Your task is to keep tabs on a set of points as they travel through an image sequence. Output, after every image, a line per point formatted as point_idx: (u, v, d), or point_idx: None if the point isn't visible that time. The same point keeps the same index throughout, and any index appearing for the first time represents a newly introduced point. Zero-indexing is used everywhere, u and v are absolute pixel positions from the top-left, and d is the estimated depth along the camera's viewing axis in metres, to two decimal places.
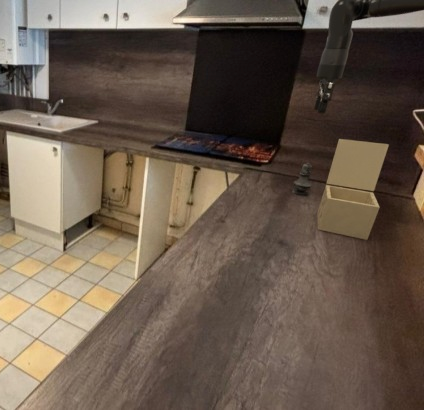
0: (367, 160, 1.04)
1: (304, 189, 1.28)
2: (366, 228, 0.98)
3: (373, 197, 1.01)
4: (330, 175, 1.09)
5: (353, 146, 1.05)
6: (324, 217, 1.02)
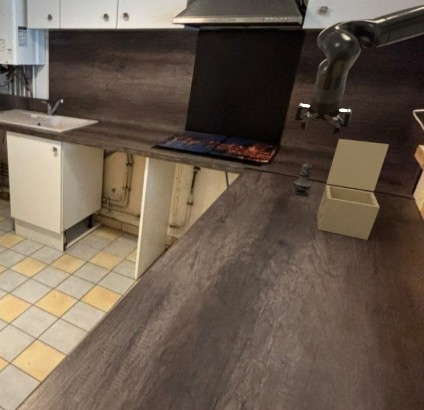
0: (367, 160, 1.04)
1: (304, 189, 1.28)
2: (366, 228, 0.98)
3: (373, 197, 1.01)
4: (330, 175, 1.09)
5: (353, 146, 1.05)
6: (324, 217, 1.02)
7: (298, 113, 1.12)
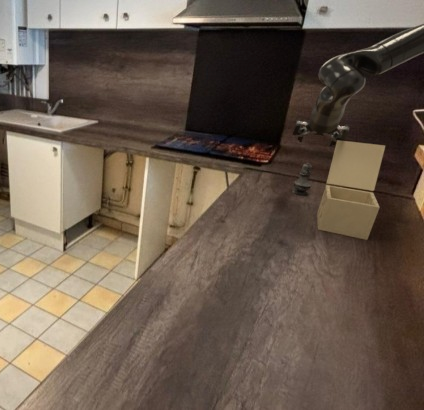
0: (365, 160, 1.06)
1: (304, 189, 1.28)
2: (366, 228, 0.98)
3: (373, 197, 1.01)
4: (330, 175, 1.09)
5: (351, 147, 1.08)
6: (324, 217, 1.02)
7: (296, 130, 1.13)
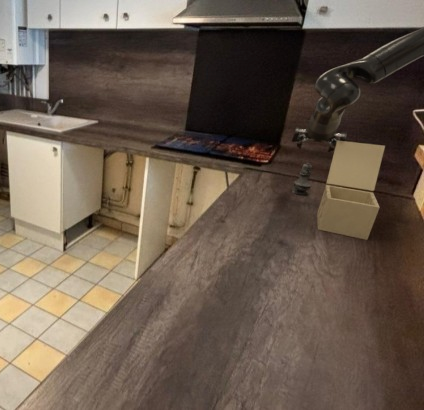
0: (365, 160, 1.06)
1: (304, 189, 1.28)
2: (366, 228, 0.98)
3: (373, 197, 1.01)
4: (330, 175, 1.10)
5: (351, 147, 1.08)
6: (324, 217, 1.02)
7: (295, 137, 1.17)
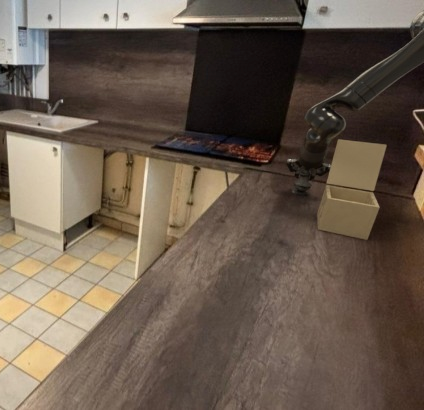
0: (366, 160, 1.05)
1: (304, 189, 1.28)
2: (366, 228, 0.98)
3: (373, 197, 1.01)
4: (330, 175, 1.09)
5: (352, 146, 1.07)
6: (324, 217, 1.02)
7: (289, 167, 1.26)
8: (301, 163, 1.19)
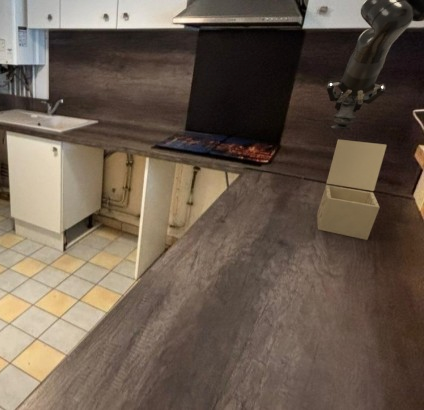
0: (366, 160, 1.05)
1: (347, 122, 1.06)
2: (366, 228, 0.98)
3: (373, 197, 1.01)
4: (330, 175, 1.09)
5: (352, 146, 1.07)
6: (324, 217, 1.02)
7: (330, 93, 1.04)
8: (347, 83, 0.97)
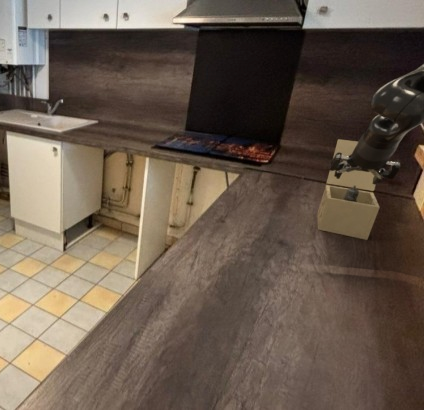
0: None
1: None
2: (366, 228, 0.98)
3: (373, 197, 1.01)
4: (330, 175, 1.09)
5: (352, 146, 1.07)
6: (324, 217, 1.02)
7: (335, 164, 0.98)
8: (357, 162, 0.91)
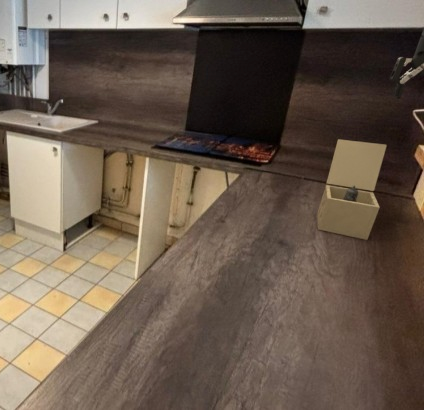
0: (366, 160, 1.05)
1: None
2: (366, 228, 0.98)
3: (373, 197, 1.01)
4: (330, 175, 1.09)
5: (352, 146, 1.07)
6: (324, 217, 1.02)
7: (399, 68, 0.95)
8: None
